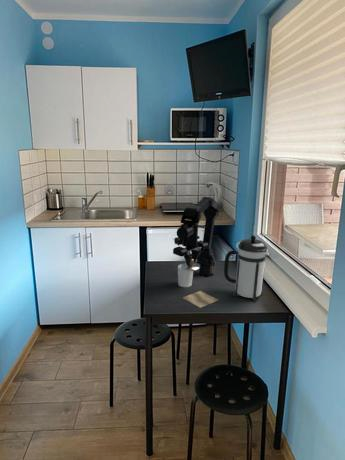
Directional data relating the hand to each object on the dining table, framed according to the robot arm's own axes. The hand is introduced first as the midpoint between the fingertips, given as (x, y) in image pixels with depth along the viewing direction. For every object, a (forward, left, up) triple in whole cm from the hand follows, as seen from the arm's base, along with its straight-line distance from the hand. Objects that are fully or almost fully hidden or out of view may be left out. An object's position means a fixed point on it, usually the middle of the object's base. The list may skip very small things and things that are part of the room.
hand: (190, 264), depth 159 cm
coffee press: (-16, +21, -13) cm, 30 cm away
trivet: (+4, +11, -13) cm, 17 cm away
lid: (0, 0, -1) cm, 1 cm away
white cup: (-1, -5, -13) cm, 14 cm away
